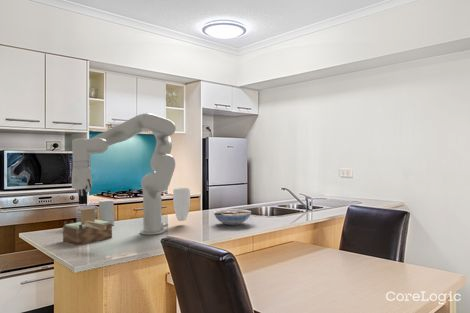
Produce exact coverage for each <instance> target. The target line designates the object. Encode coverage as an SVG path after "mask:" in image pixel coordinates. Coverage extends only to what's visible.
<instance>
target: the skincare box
mask: <svg viewBox="0 0 470 313" xmlns="http://www.w3.org/2000/svg"><path fill="white" fill-rule="evenodd" d="M114 201H115V200H114V199H101V200H98V214H99V215H98V216H99V220H102V221H108V222H110V224H112V226H115V211H114V210H115V207H114V205H115V204H114Z"/></svg>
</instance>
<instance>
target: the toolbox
mask: <svg viewBox="0 0 470 313" xmlns="http://www.w3.org/2000/svg"><path fill="white" fill-rule="evenodd" d="M71 223H75V222H74V220H70V224H71ZM65 224H68V221H63V226H62V242H65V243H68V244H71V245H72V244H73V245H75V246H80V245H85V244H88V243H89V244H90V243H94V242H98V241H103V240H108V239H112V238H113V225H112V224H106V230H100V229H95V228H90V227H86V228H84V229H82V225H79V229H74V228H69V227H65Z"/></svg>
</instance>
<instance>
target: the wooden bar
mask: <svg viewBox="0 0 470 313" xmlns="http://www.w3.org/2000/svg"><path fill="white" fill-rule="evenodd" d="M85 227H90V228H95V229H100V230H106V224H103V223H97V222H92V221H85Z"/></svg>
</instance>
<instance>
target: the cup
mask: <svg viewBox="0 0 470 313" xmlns="http://www.w3.org/2000/svg"><path fill="white" fill-rule="evenodd" d="M172 190H173V192H172V193H173V195H172V199H173V202H172V203H173V209H174V213H175V216H176V219H177V221H180V222H181V221H182V222H184V221H186V220H187V218H188V215H189V211H190V207H191V189H190V187H176V188H173V189H172Z"/></svg>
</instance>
